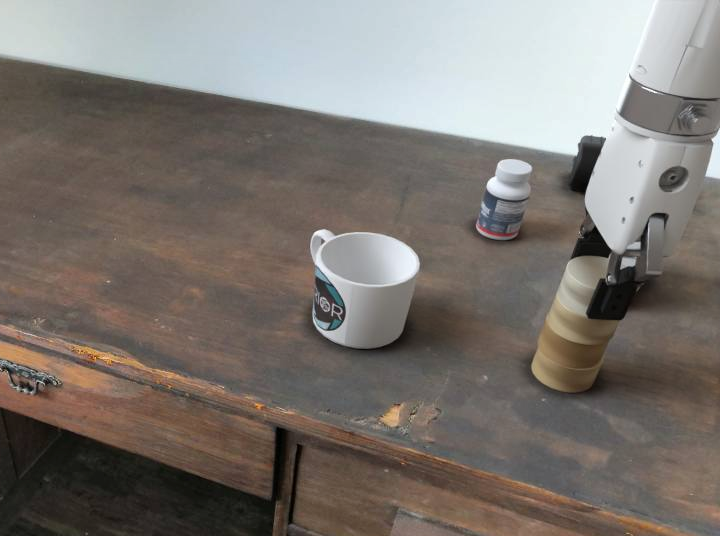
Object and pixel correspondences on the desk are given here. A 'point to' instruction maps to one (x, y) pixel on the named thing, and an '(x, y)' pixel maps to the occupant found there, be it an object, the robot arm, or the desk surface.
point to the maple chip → (579, 326)
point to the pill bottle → (505, 200)
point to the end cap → (585, 162)
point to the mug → (362, 287)
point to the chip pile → (566, 362)
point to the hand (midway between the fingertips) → (593, 294)
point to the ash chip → (581, 282)
